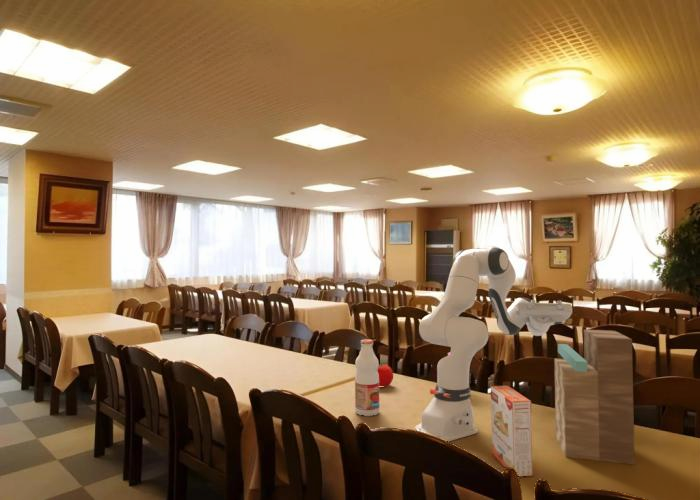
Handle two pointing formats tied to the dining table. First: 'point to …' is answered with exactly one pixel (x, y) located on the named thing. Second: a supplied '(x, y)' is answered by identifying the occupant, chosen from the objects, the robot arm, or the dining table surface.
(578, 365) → the teal bar
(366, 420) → the dining table surface
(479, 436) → the dining table surface
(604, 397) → the step stand
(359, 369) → the fruit juice
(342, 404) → the dining table surface
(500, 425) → the cracker box
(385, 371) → the tomato
